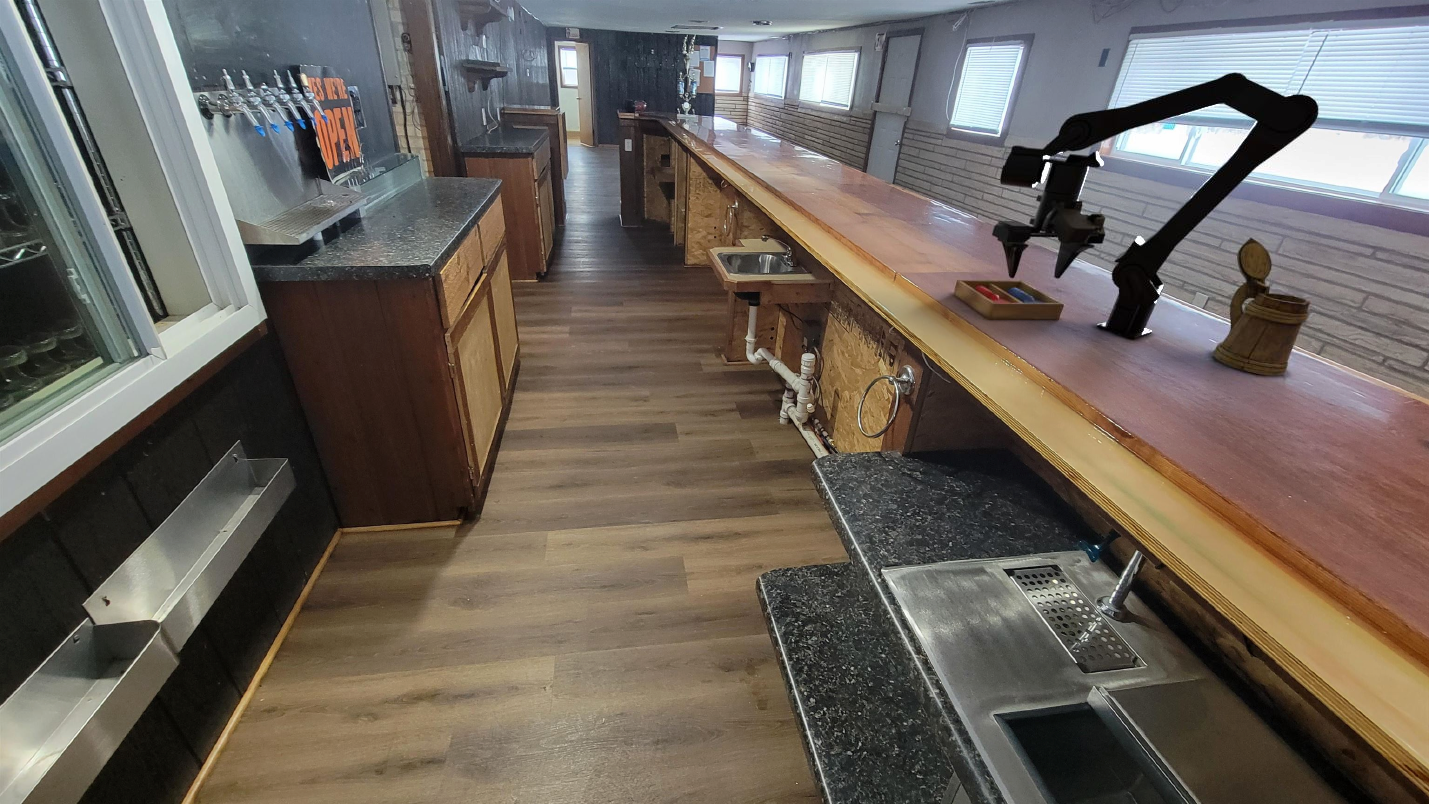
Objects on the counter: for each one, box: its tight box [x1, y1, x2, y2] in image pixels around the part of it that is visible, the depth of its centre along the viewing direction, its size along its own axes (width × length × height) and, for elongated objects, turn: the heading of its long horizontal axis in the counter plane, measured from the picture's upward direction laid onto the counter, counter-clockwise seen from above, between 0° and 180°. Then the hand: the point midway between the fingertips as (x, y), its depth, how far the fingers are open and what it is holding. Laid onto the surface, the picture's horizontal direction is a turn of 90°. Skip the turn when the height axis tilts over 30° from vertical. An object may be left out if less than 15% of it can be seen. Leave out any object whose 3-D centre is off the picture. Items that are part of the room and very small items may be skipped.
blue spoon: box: [1008, 288, 1043, 303], centre depth 109 cm, size 10×4×2 cm, turn 6°
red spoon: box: [975, 286, 1010, 303], centre depth 109 cm, size 10×4×2 cm, turn 6°
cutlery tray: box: [953, 279, 1065, 320], centre depth 110 cm, size 14×14×3 cm
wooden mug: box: [1212, 237, 1311, 376], centre depth 88 cm, size 9×14×18 cm, turn 10°
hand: (1034, 278), depth 108 cm, fingers open, 9 cm apart
